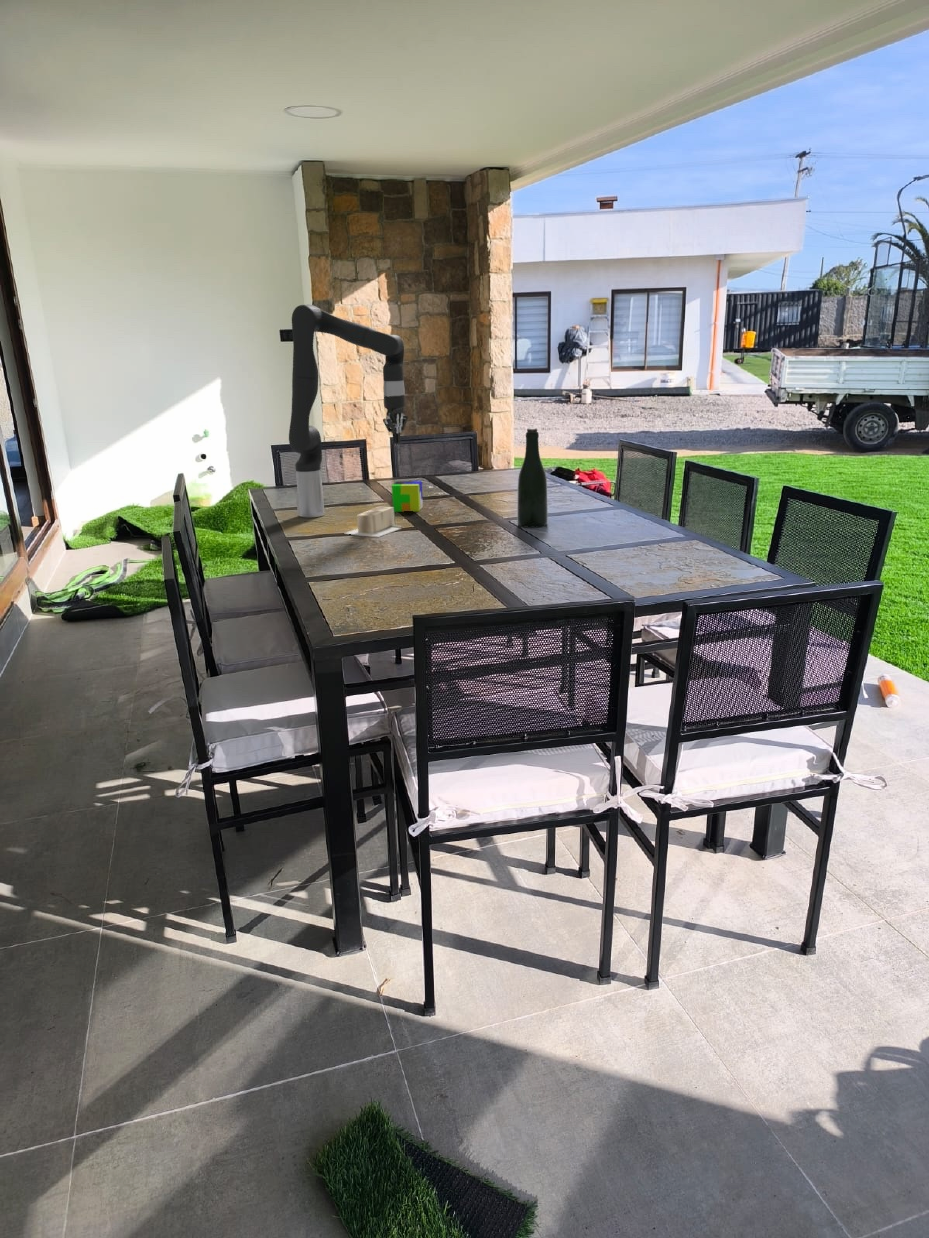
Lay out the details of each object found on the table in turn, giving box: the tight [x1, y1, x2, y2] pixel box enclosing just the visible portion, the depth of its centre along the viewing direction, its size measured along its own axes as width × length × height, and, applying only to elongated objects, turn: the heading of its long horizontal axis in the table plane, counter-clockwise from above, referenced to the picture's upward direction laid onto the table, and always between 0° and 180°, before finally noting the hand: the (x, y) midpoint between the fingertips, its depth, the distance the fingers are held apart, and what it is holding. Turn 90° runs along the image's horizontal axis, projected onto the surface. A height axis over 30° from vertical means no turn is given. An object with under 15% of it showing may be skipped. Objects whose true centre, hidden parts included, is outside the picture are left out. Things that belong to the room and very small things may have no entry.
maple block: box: [356, 505, 396, 534], centre depth 290 cm, size 6×6×14 cm
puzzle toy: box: [391, 480, 424, 513], centre depth 324 cm, size 10×10×10 cm
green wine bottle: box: [516, 427, 548, 528], centre depth 286 cm, size 10×10×33 cm
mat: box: [343, 524, 403, 538], centre depth 289 cm, size 14×15×1 cm
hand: (396, 443), depth 302 cm, fingers closed
